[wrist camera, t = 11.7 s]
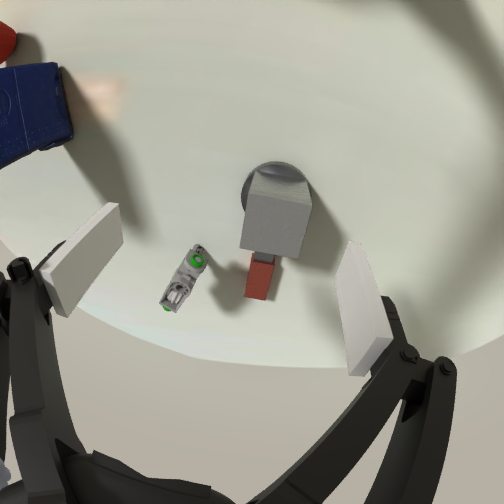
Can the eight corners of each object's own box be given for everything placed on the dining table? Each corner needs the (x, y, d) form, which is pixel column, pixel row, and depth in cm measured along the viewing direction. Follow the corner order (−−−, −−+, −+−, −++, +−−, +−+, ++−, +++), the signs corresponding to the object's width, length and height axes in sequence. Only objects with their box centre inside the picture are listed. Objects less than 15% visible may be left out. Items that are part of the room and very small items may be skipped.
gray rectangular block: (255, 170, 34) (248, 193, 27) (306, 180, 34) (312, 205, 27) (247, 216, 37) (239, 248, 30) (295, 225, 37) (297, 258, 30)
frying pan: (248, 155, 35) (239, 172, 28) (317, 169, 35) (325, 190, 28) (229, 284, 46) (220, 319, 40) (282, 294, 46) (281, 330, 40)
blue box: (79, 137, 34) (-20, 185, 18) (58, 147, 35) (-33, 197, 19) (62, 58, 27) (-40, 72, 10) (42, 73, 28) (-55, 95, 11)
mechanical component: (223, 229, 41) (207, 270, 33) (192, 274, 46) (174, 316, 38) (205, 219, 40) (185, 257, 32) (177, 265, 45) (156, 306, 37)
